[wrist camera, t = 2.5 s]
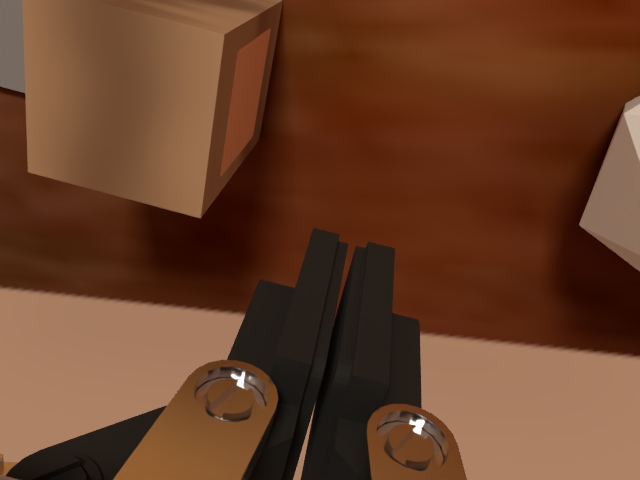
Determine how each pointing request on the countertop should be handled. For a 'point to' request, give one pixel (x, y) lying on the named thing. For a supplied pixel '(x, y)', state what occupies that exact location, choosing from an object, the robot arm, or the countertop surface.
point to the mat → (12, 45)
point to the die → (619, 191)
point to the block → (147, 94)
